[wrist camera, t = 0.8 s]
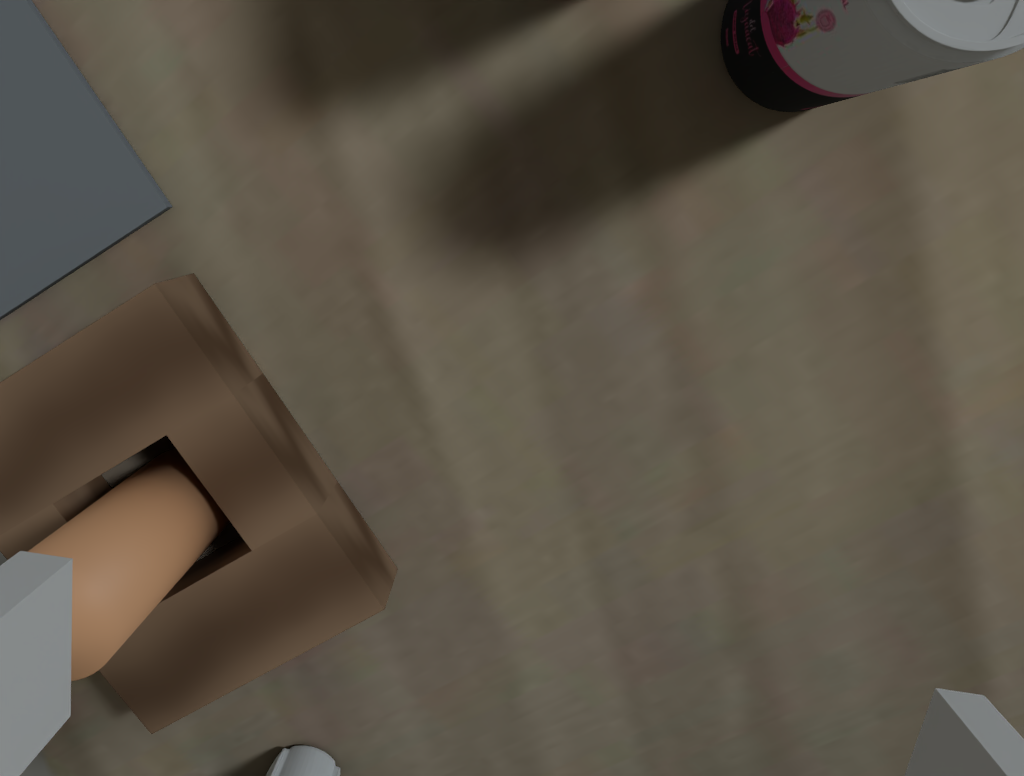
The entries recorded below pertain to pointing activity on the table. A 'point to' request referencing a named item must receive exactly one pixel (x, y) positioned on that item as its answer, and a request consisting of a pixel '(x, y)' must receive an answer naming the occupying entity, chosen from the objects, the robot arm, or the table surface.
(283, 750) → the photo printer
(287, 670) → the table surface
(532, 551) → the table surface
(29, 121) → the mat
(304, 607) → the pocket block
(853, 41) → the beverage can
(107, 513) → the peg
